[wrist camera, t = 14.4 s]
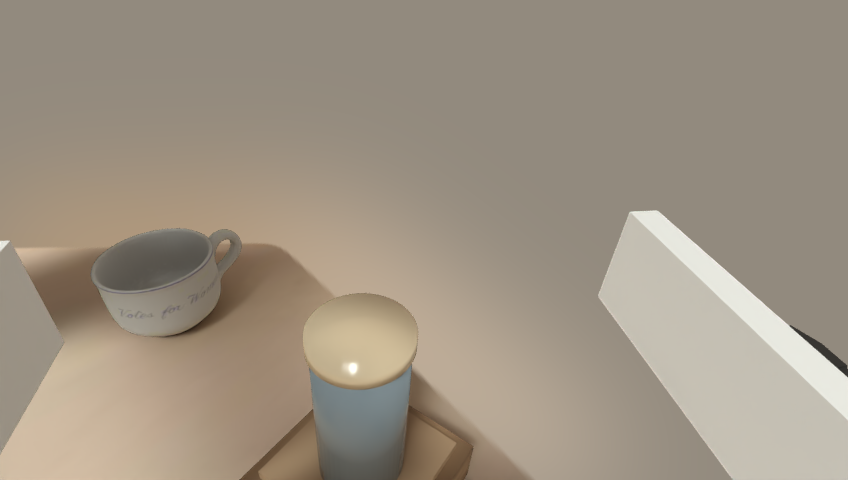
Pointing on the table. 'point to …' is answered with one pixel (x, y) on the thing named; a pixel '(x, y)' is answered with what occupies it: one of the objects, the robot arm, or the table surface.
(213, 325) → the table surface
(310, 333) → the canister
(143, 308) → the teacup
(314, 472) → the pedestal
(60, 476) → the table surface
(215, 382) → the table surface
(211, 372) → the table surface
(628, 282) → the robot arm
